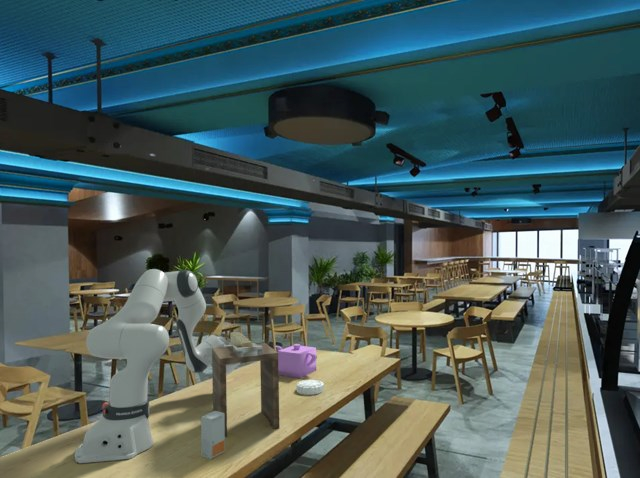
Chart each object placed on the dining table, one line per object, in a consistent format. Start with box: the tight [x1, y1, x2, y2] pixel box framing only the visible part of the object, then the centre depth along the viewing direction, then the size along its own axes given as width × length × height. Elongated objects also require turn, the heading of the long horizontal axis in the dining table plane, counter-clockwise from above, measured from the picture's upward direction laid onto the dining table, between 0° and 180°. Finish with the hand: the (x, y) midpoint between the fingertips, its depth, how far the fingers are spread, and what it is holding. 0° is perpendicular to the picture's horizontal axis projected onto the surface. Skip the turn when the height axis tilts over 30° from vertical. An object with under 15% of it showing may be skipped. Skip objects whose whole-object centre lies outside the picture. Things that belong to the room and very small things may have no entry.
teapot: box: [274, 343, 318, 379], centre depth 230 cm, size 15×25×14 cm, turn 59°
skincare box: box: [200, 411, 226, 460], centre depth 140 cm, size 6×4×12 cm
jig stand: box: [211, 342, 280, 438], centre depth 164 cm, size 20×19×29 cm
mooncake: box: [295, 379, 325, 396], centre depth 201 cm, size 12×12×4 cm
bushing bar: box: [230, 331, 253, 348], centre depth 170 cm, size 4×22×4 cm, turn 21°
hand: (234, 344), depth 181 cm, fingers open, 8 cm apart
